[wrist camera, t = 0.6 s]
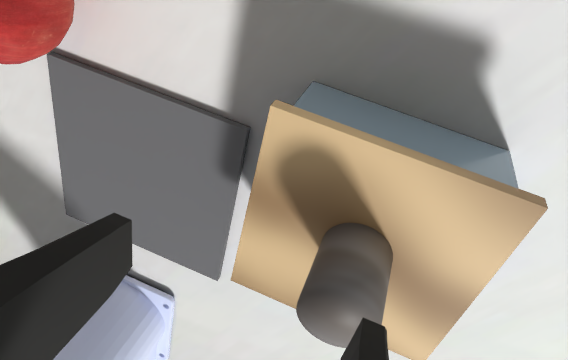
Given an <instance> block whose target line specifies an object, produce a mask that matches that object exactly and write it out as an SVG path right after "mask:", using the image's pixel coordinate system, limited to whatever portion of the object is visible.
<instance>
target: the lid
mask: <svg viewBox="0 0 568 360" xmlns="http://www.w3.org/2000/svg"><path fill="white" fill-rule="evenodd" d="M547 209H548V207H547V204H546V201H545V198H542V197H540V196H537V195H534V194H531V193H529V192H526V191H523V190H520V189H518V188H515V187H512V186H510V185H507V184H504V183H501V182H499V181H496V180H493V179H491V178H488V177H485V176H482V175H480V174H477V173H474V172H472V171H469V170H466V169H463V168H461V167H458V166H455V165H453V164H450V163H447V162H444V161H442V160H439V159H436V158H434V157H431V156H428V155H425V154H423V153H420V152H417V151H415V150H412V149H409V148H406V147H404V146H401V145H398V144H396V143H393V142H390V141H387V140H385V139H382V138H379V137H377V136H374V135H371V134H368V133H366V132H363V131H360V130H358V129H355V128H352V127H349V126H347V125H344V124H341V123H338V122H336V121H333V120H330V119H328V118H325V117H322V116H319V115H317V114H314V113H311V112H309V111H306V110H303V109H300V108H298V107H295V106H292V105H290V104H287V103H284V102H281V101H279V100H275V101H274V102H273V103H272V104H271V105H270V110H269V114H268V118H267V123H266V127H265V132H264V136H263V140H262V145H261V149H260V154H259V158H258V162H257V167H256V171H255V176H254V180H253V184H252V189H251V193H250V198H249V202H248V206H247V211H246V215H245V220H244V224H243V228H242V233H241V237H240V242H239V246H238V250H237V255H236V259H235V264H234V268H233V272H232V277H231V281H234V282H236V283H238V284H240V285H243V286H245V287H247V288H250V289H252V290H254V291H256V292H259V293H261V294H263V295H265V296H268V297H270V298H272V299H275V300H277V301H279V302H281V303H284V304H286V305H288V306H291V307H293V308H295V309H296V311H297V315H298V318H299V320H300V322H301V324H302V325H303V326H304V327H305V329H306V330H307V331H308V332H310V333H311V334H312V335H313V336H315V337H316V338H318V339H320V340H321V341H323V342H325V343H328V344H330V345H334V346H337V347H342V348H347V346H348V344H349V342H350V341H351V339H352V337H353V335H354V333H355V331H356V329H357V328H358V326H359V324H360V322H361V320H362V318H363V317H364V318H366V319H368V320H371V321H373V322H375V323H378V324H380V325H383V326H385V328H386V330H387V343H388V350H391V351H393V352H395V353H398V354H400V355H402V356H404V357H407V358H409V359H411V360H426V359H427V358H428V357H429V355H430V354H431V353H432V352H433V351H434V349H435V348H436V347H437V346H438V344H439V343H440V342H441V341H442V339H443V338H444V337H445V336H446V334H447V333H448V332H449V331H450V329H451V328H452V327H453V326H454V324H455V323H456V322H457V321H458V319H459V318H460V317H461V316H462V314H463V313H464V312H465V311H466V310H467V308H468V307H469V306H470V305H471V303H472V302H473V301H474V300H475V298H476V297H477V296H478V295H479V293H480V292H481V291H482V290H483V288H484V287H485V286H486V285H487V283H488V282H489V281H490V280H491V278H492V277H493V276H494V275H495V274H496V272H497V271H498V270H499V269H500V267H501V266H502V265H503V264H504V262H505V261H506V260H507V259H508V257H509V256H510V255H511V254H512V252H513V251H514V250H515V249H516V247H517V246H518V245H519V244H520V242H521V241H522V240H523V239H524V237H525V236H526V235H527V234H528V233H529V231H530V230H531V229H532V228H533V226H534V225H535V224H536V223H537V221H538V220H539V219H540V218H541V216H542V215H543V214H544V213H545V211H546V210H547Z"/></svg>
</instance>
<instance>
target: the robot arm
mask: <svg viewBox="0 0 568 360" xmlns="http://www.w3.org/2000/svg"><path fill="white" fill-rule="evenodd" d="M131 267H132V220H131V219H128V218H126V217H124V216H121V215H119V214H116V213H112V214H110V215H108V216H106V217H103V218H101V219H99V220H97V221H95V222H93V223H91V224H89V225H87V226H85V227H83V228H81V229H79V230H77V231H75V232H73V233H71V234H69V235H66V236H64V237H62V238H60V239H58V240H56V241H54V242H52V243H49V244H47V245H45V246H43V247H41V248H39V249H36V250H34V251H32V252H30V253H27V254H25V255H23V256H20V257H18V258H16V259H13V260H11V261H8V262H6V263H4V264H1V265H0V360H169V351H170V342H171V332H172V323H173V314H174V305H175V300H174V298H173V297H172V296H171V295H169V294H167V293H165V292H162V291H160V290H158V289H156V288H154V287H151V286H149V285H147V284H145V283H143V282H140V281H138V280H136V279H134V278H132V277H129V276H127V275H126V274H127V273H128V271H129V270H130V268H131ZM341 360H389V356H388V343H387V330H386V328H385V326H383V325H380V324H378V323H375V322H373V321H371V320H368V319H366V318H364V317H363V318H362V320H361V322H360V324H359V326H358V328H357V329H356V331H355V333H354V335H353V337H352V339H351V341H350V342H349V344H348V346H347V348H346V350H345V352H344V353H343V355H342V357H341Z"/></svg>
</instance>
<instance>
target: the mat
mask: <svg viewBox="0 0 568 360" xmlns="http://www.w3.org/2000/svg"><path fill="white" fill-rule="evenodd" d="M47 60H48V69H49V77H50V85H51V93H52V102H53V110H54V118H55V126H56V135H57V143H58V151H59V159H60V168H61V176H62V184H63V192H64V201H65V209H66V214H67V215H69V216H71V217H74V218H76V219H78V220H80V221H83V222H85V223H87V224H91V223H93V222H95V221H97V220H99V219H101V218H103V217H106V216H108V215H110V214H112V213H116V214H119V215H121V216H124V217H126V218H128V219H131V220H132V244H135V245H137V246H139V247H142V248H144V249H146V250H148V251H151V252H153V253H155V254H157V255H160V256H162V257H164V258H166V259H169V260H171V261H173V262H176V263H178V264H180V265H182V266H185V267H187V268H189V269H191V270H194V271H196V272H198V273H200V274H203V275H205V276H207V277H210V278H212V279H214V280H216V281H218V279H219V278H220V274H221V269H222V264H223V259H224V254H225V250H226V245H227V240H228V235H229V230H230V225H231V220H232V215H233V210H234V205H235V200H236V195H237V190H238V185H239V180H240V175H241V170H242V165H243V160H244V155H245V151H246V146H247V141H248V136H249V131H250V127H248V126H245V125H243V124H240V123H237V122H235V121H232V120H229V119H227V118H224V117H222V116H219V115H216V114H214V113H211V112H208V111H206V110H203V109H201V108H198V107H195V106H193V105H190V104H188V103H185V102H182V101H180V100H177V99H174V98H172V97H169V96H167V95H164V94H161V93H159V92H156V91H153V90H151V89H148V88H146V87H143V86H140V85H138V84H135V83H132V82H130V81H127V80H125V79H122V78H119V77H117V76H114V75H112V74H109V73H106V72H104V71H101V70H98V69H96V68H93V67H91V66H88V65H85V64H83V63H80V62H77V61H75V60H72V59H70V58H67V57H64V56H62V55H59V54H56V53H54V52H51V53H48V54H47Z"/></svg>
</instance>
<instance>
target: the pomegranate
mask: <svg viewBox="0 0 568 360" xmlns="http://www.w3.org/2000/svg"><path fill="white" fill-rule="evenodd" d="M73 12H74V0H0V64H21V63H24V62H27V61H30V60H33V59H36V58H38V57H40V56H42V55H45V54H47V53H49V52H50V51H51V50H53V49H54V48H55V47H57V46H58V45H59V44H60V43H61V41H62V39H63V38H64V36H65V35H66V33H67V31H68V29H69V27H70V26H71V24H72V22H73Z"/></svg>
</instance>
